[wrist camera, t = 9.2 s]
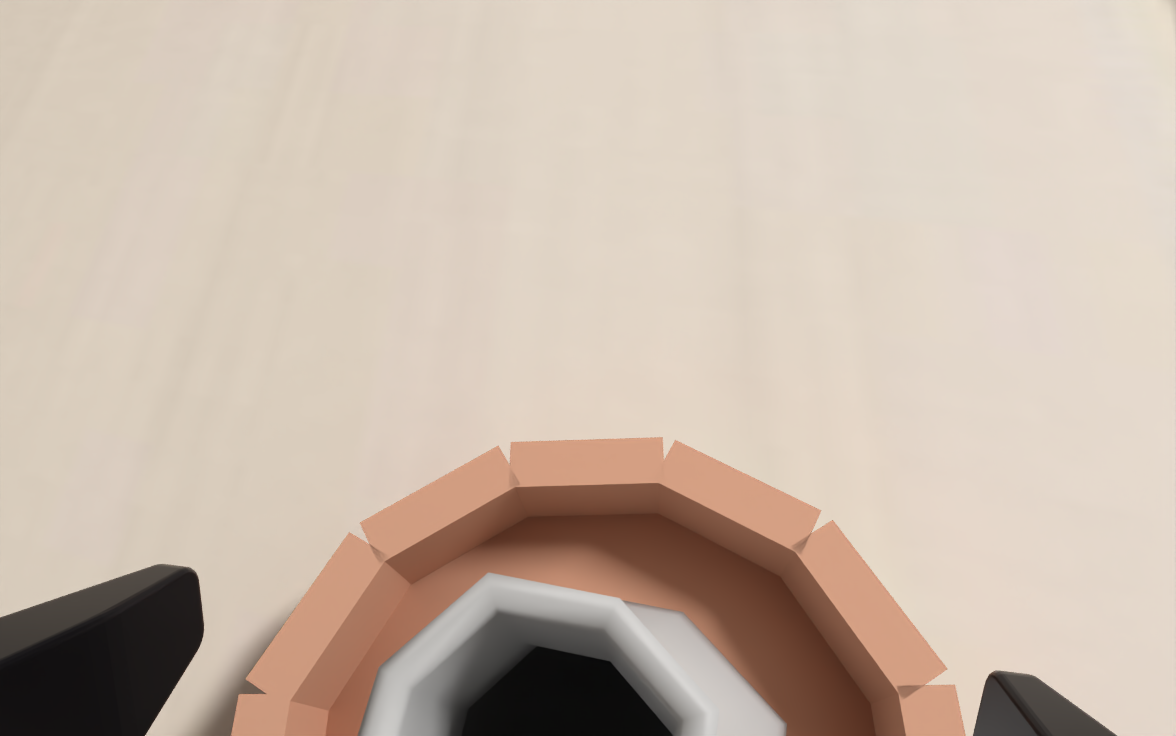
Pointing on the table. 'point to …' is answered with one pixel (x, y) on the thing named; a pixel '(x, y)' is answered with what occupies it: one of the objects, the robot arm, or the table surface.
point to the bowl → (613, 586)
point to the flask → (561, 671)
